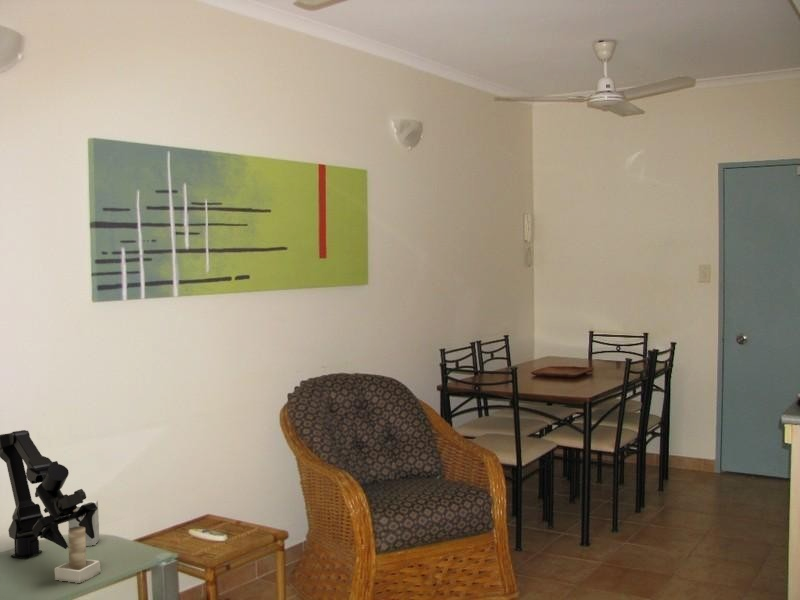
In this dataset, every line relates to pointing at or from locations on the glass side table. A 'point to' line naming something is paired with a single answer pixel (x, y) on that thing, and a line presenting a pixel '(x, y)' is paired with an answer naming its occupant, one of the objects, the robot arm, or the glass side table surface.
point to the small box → (94, 521)
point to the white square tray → (77, 572)
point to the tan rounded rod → (77, 548)
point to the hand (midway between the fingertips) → (80, 542)
